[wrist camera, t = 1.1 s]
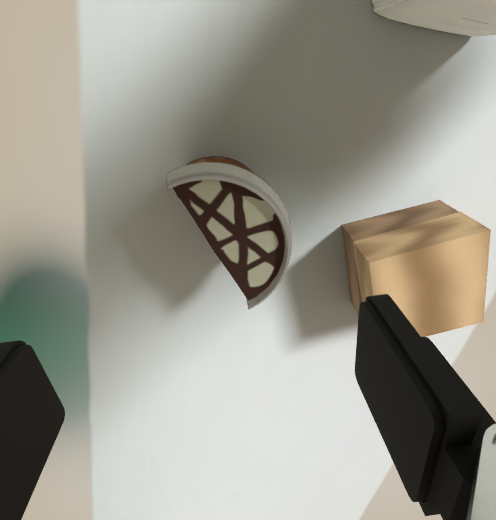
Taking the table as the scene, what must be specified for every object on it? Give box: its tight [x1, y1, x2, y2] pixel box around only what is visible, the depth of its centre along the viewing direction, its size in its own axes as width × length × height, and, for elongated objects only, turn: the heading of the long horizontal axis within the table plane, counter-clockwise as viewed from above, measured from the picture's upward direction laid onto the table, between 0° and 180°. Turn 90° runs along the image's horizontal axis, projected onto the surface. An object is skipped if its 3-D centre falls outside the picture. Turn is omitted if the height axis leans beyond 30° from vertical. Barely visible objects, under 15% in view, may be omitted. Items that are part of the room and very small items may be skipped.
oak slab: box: [353, 212, 490, 337], centre depth 33 cm, size 10×10×4 cm
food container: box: [166, 156, 292, 309], centre depth 29 cm, size 12×6×10 cm, turn 28°
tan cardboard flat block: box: [342, 200, 458, 315], centre depth 36 cm, size 10×10×4 cm
